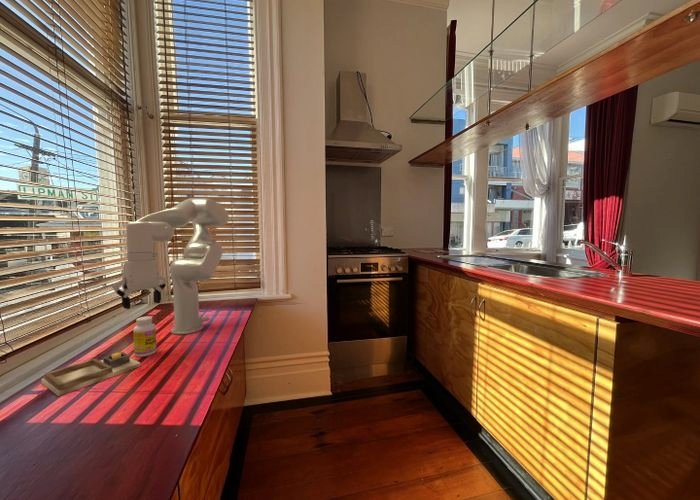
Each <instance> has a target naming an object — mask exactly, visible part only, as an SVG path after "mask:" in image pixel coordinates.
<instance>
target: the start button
mask: <svg viewBox="0 0 700 500" xmlns="http://www.w3.org/2000/svg"><path fill="white" fill-rule="evenodd" d="M111 355H112V360H113V359H116V358H119V357H121V353H120V352H114V353H112V354H111Z"/></svg>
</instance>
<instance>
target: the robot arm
mask: <svg viewBox="0 0 700 500" xmlns="http://www.w3.org/2000/svg"><path fill="white" fill-rule="evenodd" d="M229 220H230V219H229V212H228V211H227V210H226V208H224V207H223V206H222V205H220V203H218V202H217V201H215V200H213V199H211V198H208V197H207V198H206V197H190V198H187V199H185V200H183V201H181V202H180V203H178V204H176V205H174V206H173V207H171V208H167V209H163V210H160V211H157V212H153V213H150V214H147V215H144V216H143V217H141V218H139V219H137V220H136V221H129V222H127V223H126V227H125V229H126V232H125V233H126V251H127V252H126V256H127V261H124V263H123V268H122V269H123V270H122V277H121V278H122V279H121V280H120V281H117V282H116V283H114V284H112V285H111V289H112V290H113V291H114V293H115V294H116V295H119V296H120V297H121V306H122V308H123V309H125V310H129V309H131V298H130V297H129V296H130V294H131V293H132V292H134V291H135V292H136V291H142V290H143V291H144V290H151V289H153V302H154V303H157V304H160V303H161V300H162V292H163V290H164V288H165V287H166V286H167V284H168V281H169V279H168V278H166V277H163V276H161V275H159V269H158V264H157V260H155V257H158V253H157V252H155V251H154V243H165V242H168V241H171V240H172V239H173V237H174V235H175V229H178V228H179V229H180V228H183V227H184V226H187V225H188V224H189V223H190V222H191V223H192V229H193V234H192V235H191V238H189V240H188V243H187V244H186V246H185V248H184V249H183V257H184V258H183V257H182V258H177V259H175V260H172V262H171V263H170V265H169V275H170V279H171V282H172V290H173V293H172V295H173V313H174V315H173V317H174V326H173V327H172V328H171V329H170V333H171V334H172V335H173V334H174V335H188V334H193V333H196V332H199V331H201V330H203V329H204V324H203V323H204V322H208V321H210V317H209V316H205V317H203V316H200V309H199V308H200V305H199V303H200V302H199V288H198V285H197V283H196V282H195V281H202V282H203V281H208V280H210V279H211V278H213V276H214V274H215V272H216V270H217V268H218V266H219V263H220V261H221V259H222V256H223V247H222V245H221V243H220V242H218V241H216V240H213V235H212V233H211V231H210V229H209V228H208V226H209V227H210V226H211V227H223V226H225V225H227V223H228V222H229ZM160 281H161V282H160ZM120 287H121V288H122V289H123V290H121V289H120Z"/></svg>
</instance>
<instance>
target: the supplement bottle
mask: <svg viewBox="0 0 700 500" xmlns="http://www.w3.org/2000/svg"><path fill="white" fill-rule="evenodd" d="M135 322H136V324H137V325H135V326H134V327H133V330H132V331H133V353H134V356H135V357H141V358H142V357H147V356H151V355H153V354H155V353H156V352H157V350H158V349H157V327H156V324H155V323H152V322H153V317H152V316H141V317H138V318H136V321H135Z"/></svg>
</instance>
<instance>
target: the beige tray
mask: <svg viewBox="0 0 700 500" xmlns="http://www.w3.org/2000/svg"><path fill="white" fill-rule="evenodd" d="M119 353H121V357H119V358H116V359H113V360H112V354H110V355H107V356H104V357H102V359H101V360H100V359H97V358H92V359H88V360H85V361H83V362H78V363H75V364H73V365H69V366H65V367H63V368H58V369H55V370H52V371H49V372H46V373H43V378H41V384H42V385H43V386H44V387H46V388H47V389H48V390H50V391H51V392H52V393H54V394H55V395H56V396H58V397H59V396H63V395H65V394H68V393H72V392H74V391H77V390H79V389H81V388H85V387H88V386H90V385H93V384H96V383H98V382H101V381H104V380H107V379H110V378H112V377H115V376H118V375H120V374H123V373H127V372H130V371H133V370H135V369H137V367H138V368H140V366H141V365H142V364H141V362H139V361H137V360H135V359H133V358H131V356H130V354H128V353H127V352H126V353H125V352H123V351H120V352H119ZM141 367H142V366H141ZM134 368H135V369H134ZM129 370H130V371H129Z"/></svg>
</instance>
